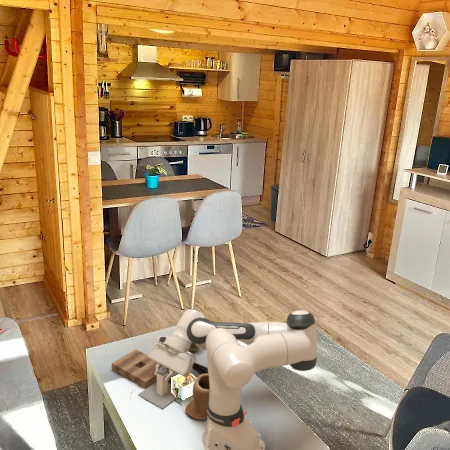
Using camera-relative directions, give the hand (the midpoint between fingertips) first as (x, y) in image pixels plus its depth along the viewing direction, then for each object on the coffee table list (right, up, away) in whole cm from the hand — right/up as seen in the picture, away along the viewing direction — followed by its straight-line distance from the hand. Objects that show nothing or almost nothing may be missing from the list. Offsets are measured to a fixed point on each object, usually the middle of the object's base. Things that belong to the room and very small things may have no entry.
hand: (160, 378), depth 181 cm
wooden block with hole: (-11, -2, +16) cm, 20 cm away
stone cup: (+18, -11, -4) cm, 21 cm away
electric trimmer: (+16, -4, +18) cm, 24 cm away
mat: (0, -7, +3) cm, 8 cm away
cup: (+10, +2, +34) cm, 35 cm away
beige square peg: (0, -7, +3) cm, 7 cm away
